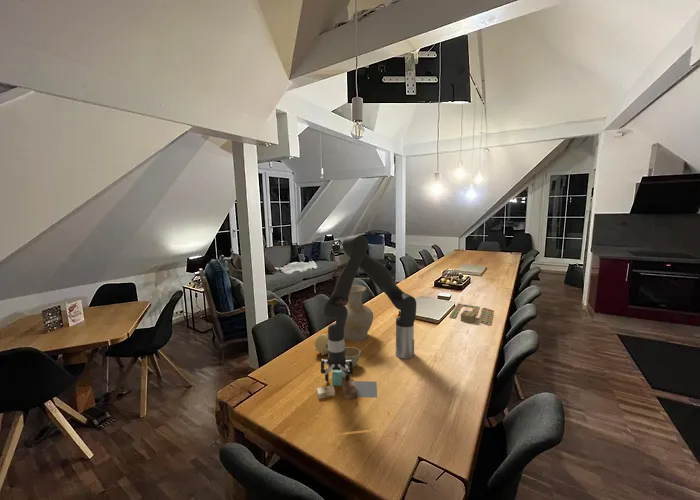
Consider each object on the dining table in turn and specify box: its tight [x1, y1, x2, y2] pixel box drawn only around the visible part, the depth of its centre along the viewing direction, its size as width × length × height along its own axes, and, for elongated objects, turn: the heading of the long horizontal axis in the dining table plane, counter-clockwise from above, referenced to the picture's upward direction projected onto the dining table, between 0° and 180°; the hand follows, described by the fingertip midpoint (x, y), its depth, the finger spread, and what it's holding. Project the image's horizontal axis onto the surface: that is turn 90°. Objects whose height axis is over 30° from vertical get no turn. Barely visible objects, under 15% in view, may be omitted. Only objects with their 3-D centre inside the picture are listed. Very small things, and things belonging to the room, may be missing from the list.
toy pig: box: [314, 333, 328, 357], centre depth 160 cm, size 10×12×11 cm
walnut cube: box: [341, 378, 358, 400], centre depth 125 cm, size 5×5×5 cm
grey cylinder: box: [342, 365, 350, 378], centre depth 140 cm, size 5×5×4 cm
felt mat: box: [354, 380, 378, 398], centre depth 129 cm, size 11×11×1 cm
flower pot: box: [345, 346, 361, 369], centre depth 149 cm, size 10×10×7 cm
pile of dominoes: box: [448, 303, 494, 327], centre depth 213 cm, size 35×27×6 cm
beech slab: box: [316, 385, 336, 399], centre depth 126 cm, size 7×4×3 cm, turn 106°
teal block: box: [331, 369, 343, 387], centre depth 133 cm, size 4×4×6 cm
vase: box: [344, 284, 374, 342], centre depth 179 cm, size 22×22×30 cm
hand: (337, 381), depth 133 cm, fingers open, 8 cm apart
